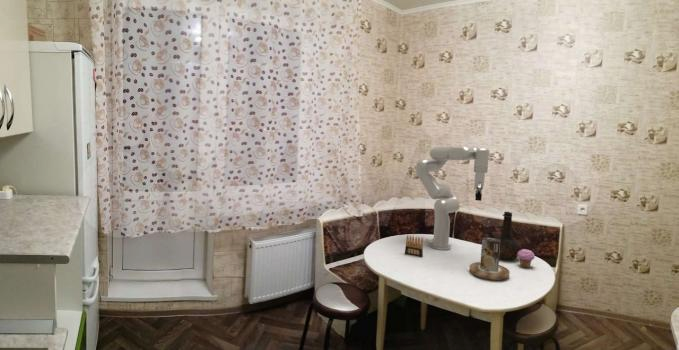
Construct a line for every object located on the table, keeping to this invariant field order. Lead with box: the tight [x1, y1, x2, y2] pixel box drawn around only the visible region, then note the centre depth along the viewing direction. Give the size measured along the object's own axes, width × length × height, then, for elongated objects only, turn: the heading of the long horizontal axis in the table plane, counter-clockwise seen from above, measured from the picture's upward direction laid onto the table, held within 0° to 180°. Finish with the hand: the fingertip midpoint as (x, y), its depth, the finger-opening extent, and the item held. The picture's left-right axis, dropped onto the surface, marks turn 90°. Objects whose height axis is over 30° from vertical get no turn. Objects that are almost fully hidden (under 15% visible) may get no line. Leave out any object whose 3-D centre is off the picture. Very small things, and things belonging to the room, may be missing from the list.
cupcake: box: [517, 248, 535, 269], centre depth 227 cm, size 9×9×10 cm
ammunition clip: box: [404, 234, 424, 258], centre depth 239 cm, size 11×2×12 cm, turn 60°
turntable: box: [469, 261, 511, 281], centre depth 214 cm, size 20×20×2 cm
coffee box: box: [479, 236, 500, 272], centre depth 213 cm, size 9×6×16 cm
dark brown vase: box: [493, 211, 523, 261], centre depth 240 cm, size 18×18×28 cm
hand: (478, 198), depth 232 cm, fingers open, 9 cm apart
